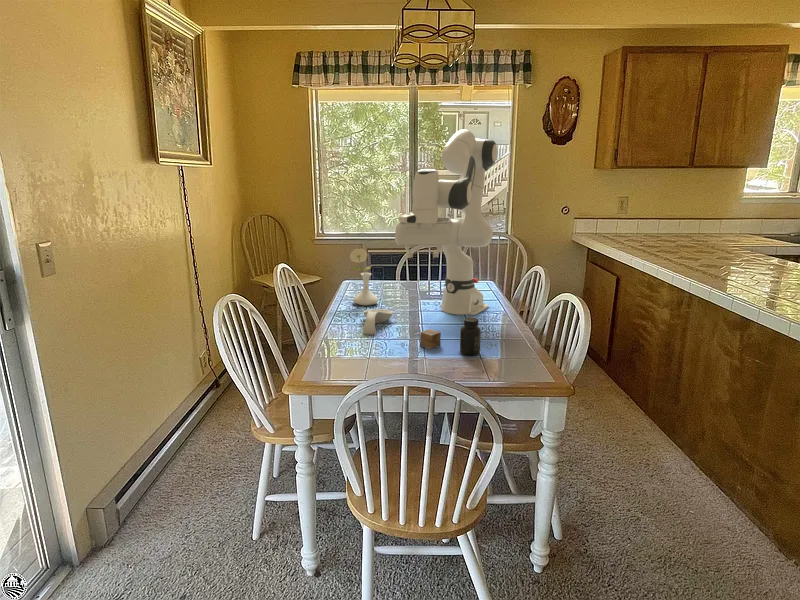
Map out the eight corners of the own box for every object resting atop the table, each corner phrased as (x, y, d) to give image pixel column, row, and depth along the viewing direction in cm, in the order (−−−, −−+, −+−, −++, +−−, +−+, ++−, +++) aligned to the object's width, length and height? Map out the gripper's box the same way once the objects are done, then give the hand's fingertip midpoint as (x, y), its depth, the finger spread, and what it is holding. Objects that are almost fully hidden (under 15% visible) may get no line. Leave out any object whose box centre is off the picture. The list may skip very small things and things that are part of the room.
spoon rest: (366, 315, 209) (366, 299, 207) (394, 317, 208) (394, 300, 206) (354, 334, 187) (354, 316, 185) (385, 336, 185) (386, 317, 183)
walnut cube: (429, 342, 180) (429, 328, 178) (440, 345, 176) (440, 332, 175) (420, 345, 176) (420, 332, 175) (430, 349, 173) (431, 335, 172)
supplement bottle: (476, 349, 174) (478, 315, 170) (482, 356, 167) (485, 322, 164) (456, 350, 172) (458, 316, 169) (462, 357, 166) (464, 322, 163)
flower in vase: (380, 301, 231) (380, 246, 224) (376, 307, 220) (377, 251, 213) (352, 299, 232) (351, 245, 226) (347, 306, 221) (346, 250, 215)
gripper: (449, 217, 179) (447, 255, 182) (394, 216, 173) (392, 256, 176) (456, 218, 173) (454, 258, 176) (399, 218, 167) (398, 259, 170)
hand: (422, 257), depth 176 cm, fingers open, 8 cm apart
